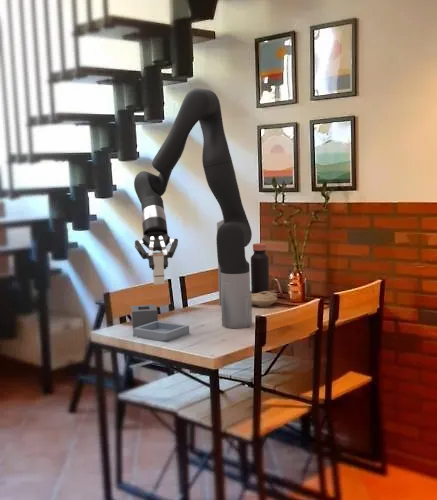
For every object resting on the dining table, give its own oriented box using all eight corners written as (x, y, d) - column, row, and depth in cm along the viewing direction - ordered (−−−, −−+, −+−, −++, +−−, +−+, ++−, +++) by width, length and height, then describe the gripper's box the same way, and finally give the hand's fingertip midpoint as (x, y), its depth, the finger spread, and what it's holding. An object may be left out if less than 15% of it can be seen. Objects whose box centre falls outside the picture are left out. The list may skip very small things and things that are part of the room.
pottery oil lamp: (241, 302, 252) (248, 284, 253) (272, 314, 250) (279, 296, 251) (239, 299, 243) (246, 280, 244) (271, 311, 241) (278, 292, 242)
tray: (189, 333, 212) (189, 325, 211) (166, 342, 203) (165, 333, 202) (156, 328, 219) (156, 320, 219) (133, 336, 210) (132, 328, 210)
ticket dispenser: (155, 320, 230) (155, 304, 229) (158, 327, 221) (157, 310, 220) (131, 322, 228) (130, 305, 228) (132, 328, 220) (132, 311, 219)
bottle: (272, 296, 263) (271, 244, 261) (257, 298, 260) (256, 245, 257) (263, 293, 269) (262, 242, 266) (248, 295, 266) (246, 244, 263)
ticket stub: (163, 281, 211) (162, 252, 210) (164, 283, 207) (163, 254, 206) (153, 282, 210) (152, 252, 209) (154, 284, 206) (153, 254, 205)
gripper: (131, 216, 212) (135, 261, 202) (177, 214, 214) (183, 259, 204) (131, 231, 218) (135, 276, 208) (176, 230, 220) (181, 274, 210)
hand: (159, 267), depth 206 cm, fingers closed on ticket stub, 3 cm apart
